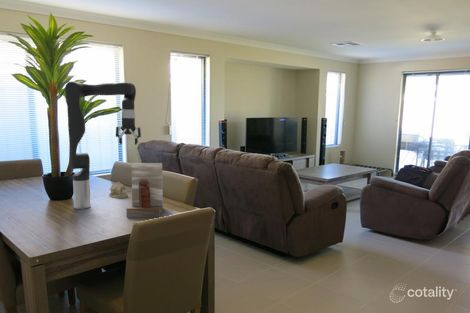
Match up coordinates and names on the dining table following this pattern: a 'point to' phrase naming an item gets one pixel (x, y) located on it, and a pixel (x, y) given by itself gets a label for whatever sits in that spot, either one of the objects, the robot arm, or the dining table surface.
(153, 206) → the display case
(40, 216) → the dining table surface
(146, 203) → the wooden figurine
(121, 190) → the ceramic model
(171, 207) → the dining table surface
